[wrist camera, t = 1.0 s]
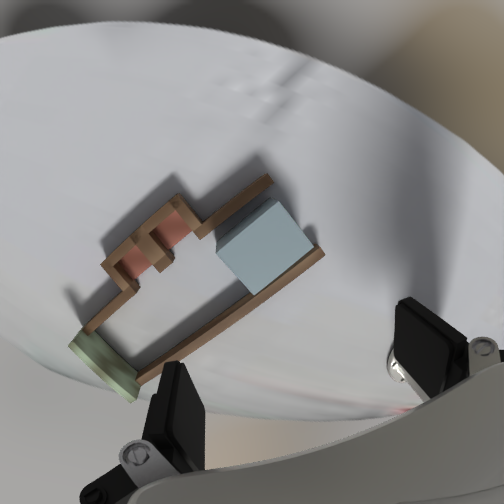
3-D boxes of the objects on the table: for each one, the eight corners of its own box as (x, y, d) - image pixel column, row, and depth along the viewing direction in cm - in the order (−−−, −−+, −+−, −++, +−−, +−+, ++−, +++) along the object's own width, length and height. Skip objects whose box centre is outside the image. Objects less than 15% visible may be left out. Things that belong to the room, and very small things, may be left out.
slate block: (301, 236, 34) (314, 246, 29) (249, 279, 34) (254, 295, 29) (270, 197, 32) (278, 201, 27) (216, 242, 33) (215, 253, 28)
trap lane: (320, 250, 34) (335, 262, 29) (137, 381, 36) (130, 403, 32) (241, 144, 30) (245, 138, 25) (62, 305, 32) (45, 321, 27)
